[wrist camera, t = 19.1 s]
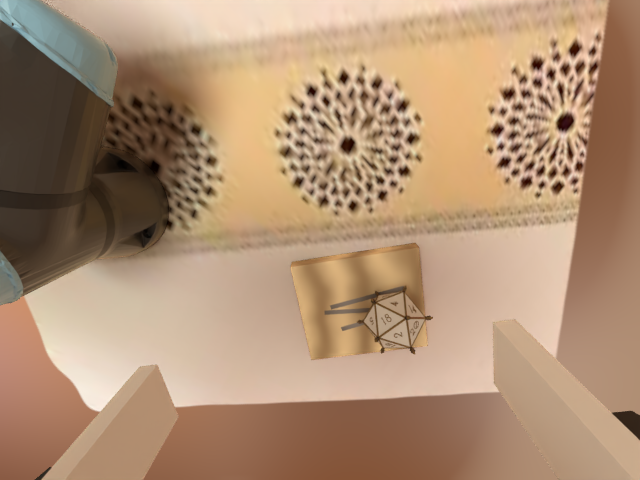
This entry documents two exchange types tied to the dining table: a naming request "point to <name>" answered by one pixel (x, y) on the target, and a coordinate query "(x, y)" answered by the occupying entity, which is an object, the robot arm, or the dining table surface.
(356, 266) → the board
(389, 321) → the game die
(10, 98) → the robot arm
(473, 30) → the dining table surface
